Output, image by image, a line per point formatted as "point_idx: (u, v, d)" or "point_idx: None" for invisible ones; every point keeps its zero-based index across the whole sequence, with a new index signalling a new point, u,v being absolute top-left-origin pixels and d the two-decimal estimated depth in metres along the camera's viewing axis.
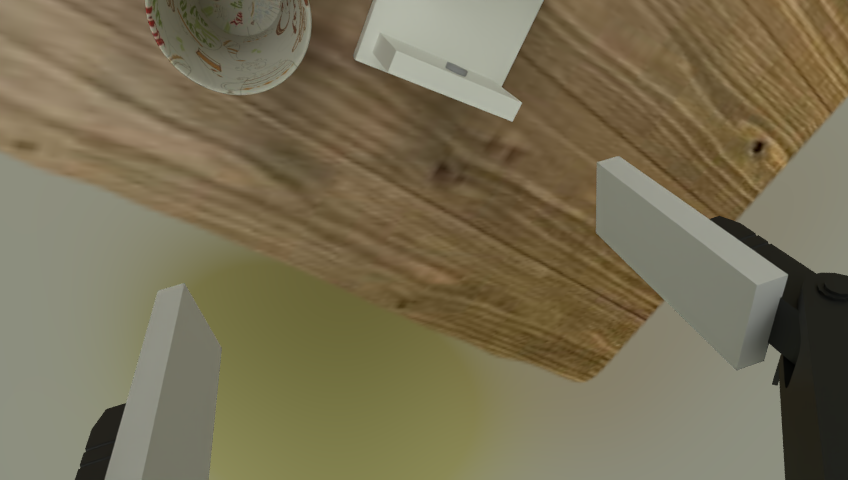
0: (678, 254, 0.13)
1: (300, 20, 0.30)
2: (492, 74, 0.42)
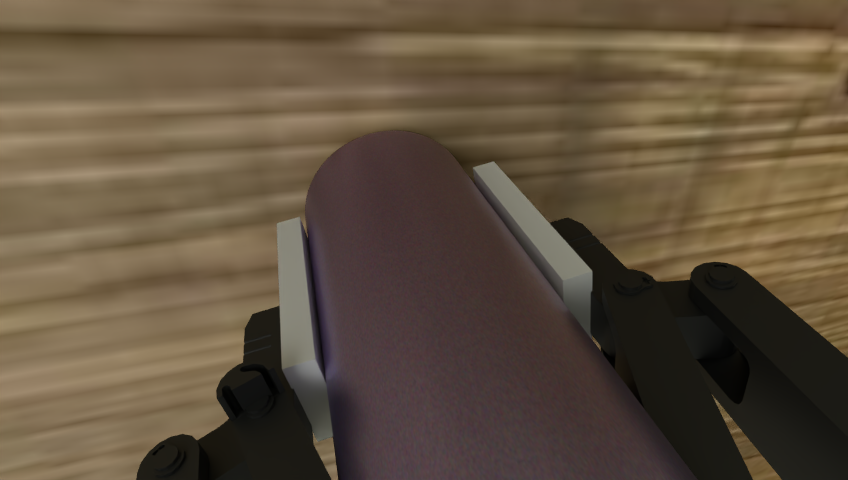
0: None
1: None
2: None
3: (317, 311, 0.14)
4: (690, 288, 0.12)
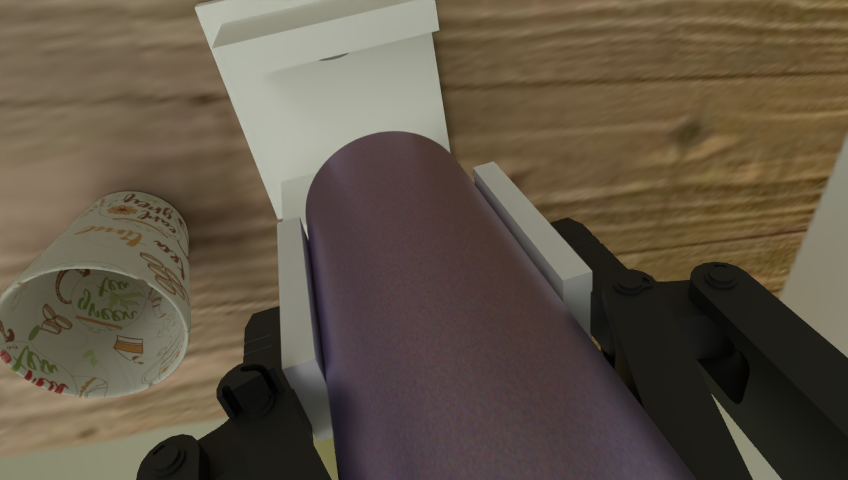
0: None
1: None
2: (428, 136, 0.33)
3: (317, 311, 0.14)
4: (690, 288, 0.12)
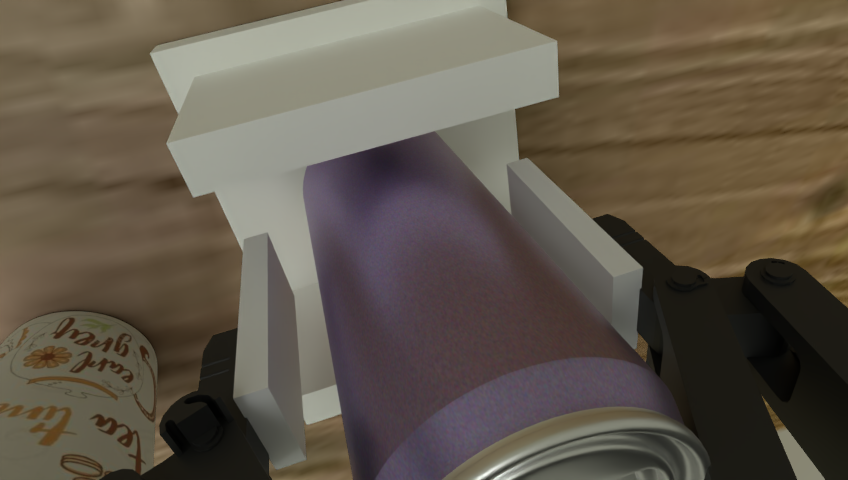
0: (564, 249, 0.14)
1: None
2: None
3: (316, 268, 0.15)
4: (744, 283, 0.12)
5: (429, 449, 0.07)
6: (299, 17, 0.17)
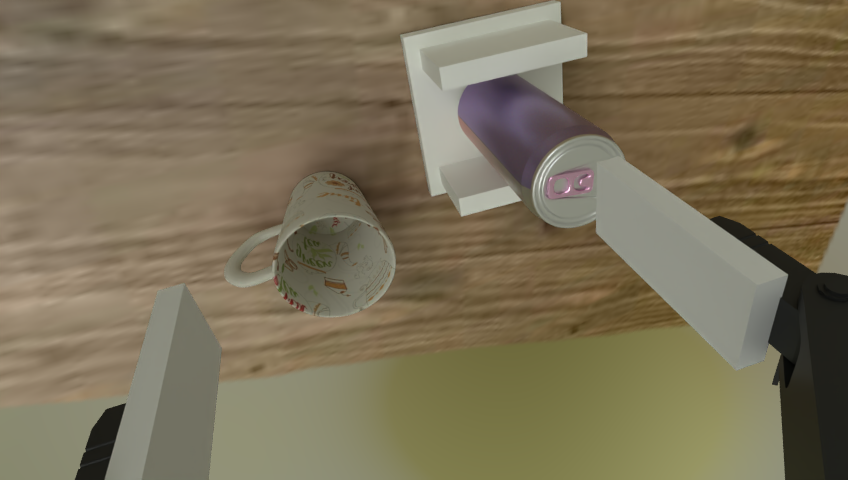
0: (678, 254, 0.13)
1: None
2: None
3: (479, 130, 0.35)
4: None
5: (546, 144, 0.28)
6: (467, 23, 0.38)
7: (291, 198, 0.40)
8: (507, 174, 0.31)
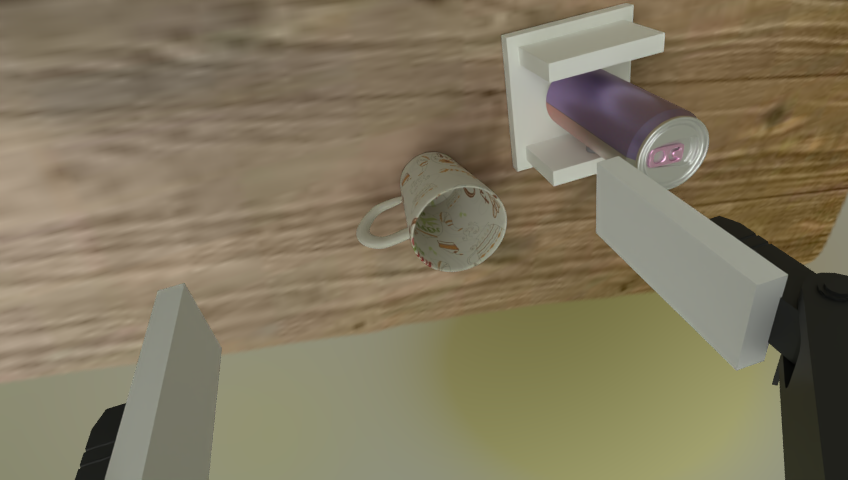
0: (678, 254, 0.13)
1: (490, 199, 0.45)
2: None
3: (575, 114, 0.43)
4: None
5: (649, 124, 0.36)
6: (558, 24, 0.45)
7: (408, 175, 0.48)
8: (609, 149, 0.39)
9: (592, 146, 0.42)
